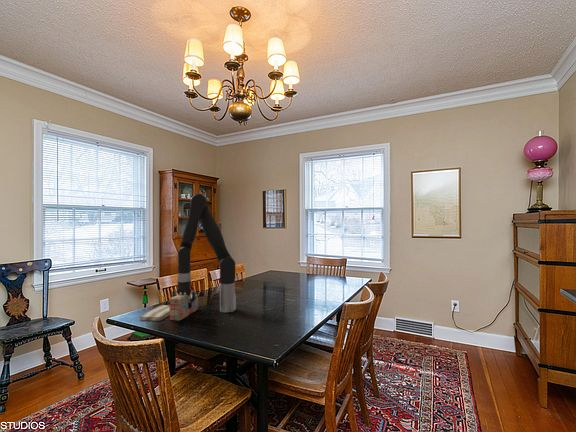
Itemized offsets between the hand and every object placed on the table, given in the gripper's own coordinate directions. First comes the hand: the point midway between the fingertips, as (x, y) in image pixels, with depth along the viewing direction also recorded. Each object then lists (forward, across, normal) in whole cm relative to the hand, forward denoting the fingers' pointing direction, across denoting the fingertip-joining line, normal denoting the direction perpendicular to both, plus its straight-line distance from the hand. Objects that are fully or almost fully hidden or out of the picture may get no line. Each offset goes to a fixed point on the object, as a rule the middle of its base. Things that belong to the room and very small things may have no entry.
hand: (184, 308), depth 176 cm
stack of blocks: (+4, 0, 0) cm, 4 cm away
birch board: (+4, +15, 0) cm, 15 cm away
